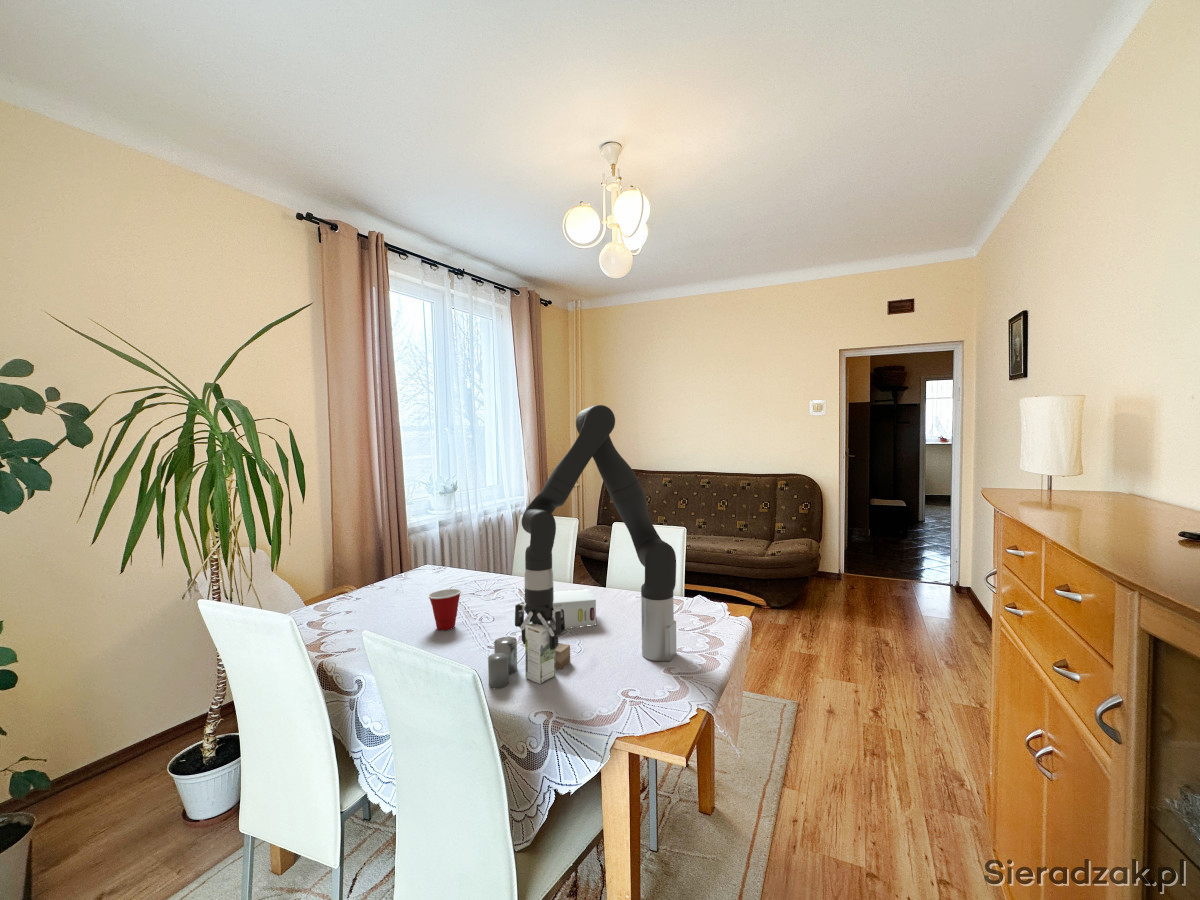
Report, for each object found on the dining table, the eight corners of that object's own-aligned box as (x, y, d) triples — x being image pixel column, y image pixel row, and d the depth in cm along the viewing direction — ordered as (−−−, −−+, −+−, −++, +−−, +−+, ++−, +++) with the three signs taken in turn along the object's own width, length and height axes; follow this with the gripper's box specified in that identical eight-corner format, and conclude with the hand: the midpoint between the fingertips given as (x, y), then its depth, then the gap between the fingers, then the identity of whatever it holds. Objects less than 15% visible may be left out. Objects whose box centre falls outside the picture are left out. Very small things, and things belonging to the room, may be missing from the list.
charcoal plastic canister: (512, 681, 131) (511, 654, 130) (500, 690, 126) (499, 662, 126) (497, 677, 133) (496, 651, 133) (484, 686, 128) (484, 659, 128)
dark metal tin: (521, 667, 138) (521, 638, 138) (508, 677, 133) (507, 647, 133) (504, 663, 141) (503, 635, 141) (490, 672, 136) (489, 643, 136)
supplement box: (546, 631, 164) (545, 603, 164) (542, 617, 177) (541, 591, 177) (596, 626, 168) (596, 598, 168) (589, 613, 181) (588, 587, 181)
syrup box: (541, 670, 137) (540, 617, 136) (556, 676, 133) (555, 622, 132) (525, 678, 132) (524, 623, 132) (540, 685, 128) (539, 628, 128)
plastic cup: (448, 619, 177) (447, 585, 176) (468, 625, 170) (468, 590, 170) (421, 629, 168) (420, 593, 167) (442, 636, 161) (441, 599, 161)
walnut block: (570, 662, 141) (570, 645, 141) (561, 670, 137) (560, 651, 137) (555, 659, 143) (554, 642, 143) (545, 666, 139) (545, 648, 139)
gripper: (569, 584, 132) (570, 645, 132) (525, 577, 139) (525, 636, 139) (554, 592, 125) (555, 656, 126) (508, 585, 132) (509, 646, 132)
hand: (539, 646), depth 132 cm, fingers open, 8 cm apart
